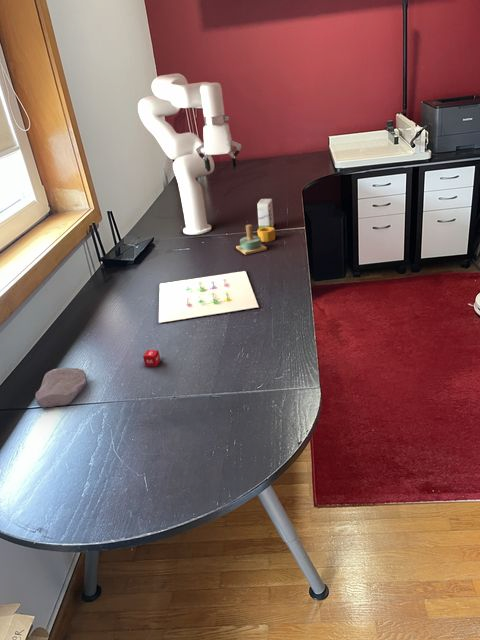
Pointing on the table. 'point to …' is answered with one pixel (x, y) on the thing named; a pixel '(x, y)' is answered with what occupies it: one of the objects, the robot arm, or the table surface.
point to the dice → (151, 358)
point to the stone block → (60, 387)
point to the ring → (266, 234)
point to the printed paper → (205, 296)
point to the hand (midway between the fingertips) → (221, 170)
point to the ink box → (265, 213)
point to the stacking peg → (250, 243)
